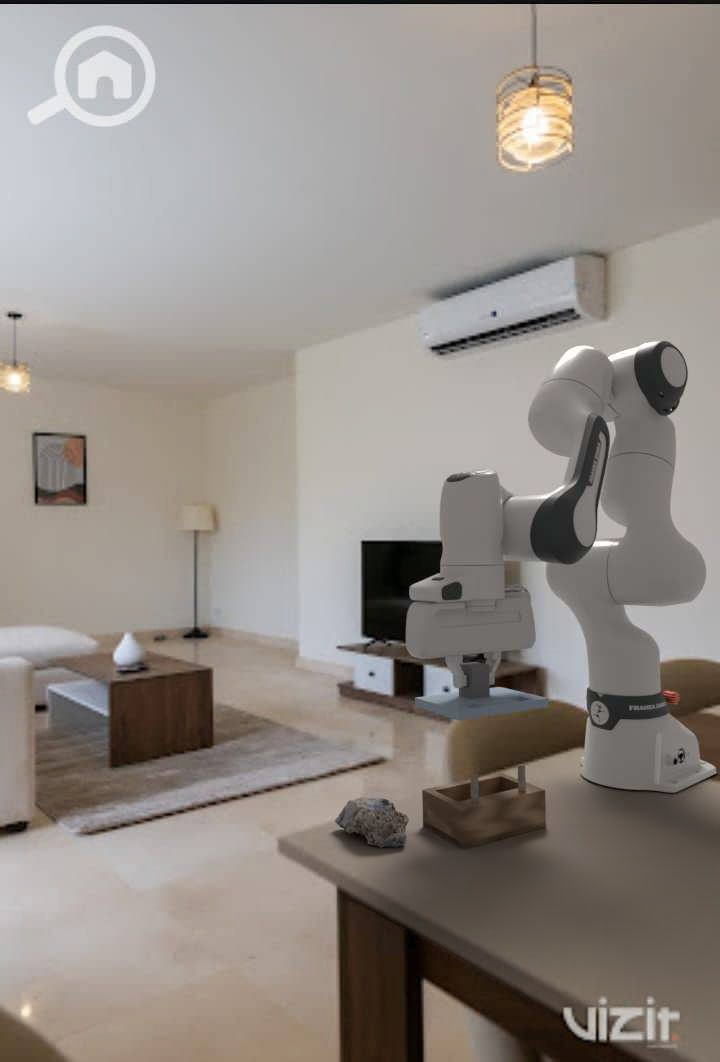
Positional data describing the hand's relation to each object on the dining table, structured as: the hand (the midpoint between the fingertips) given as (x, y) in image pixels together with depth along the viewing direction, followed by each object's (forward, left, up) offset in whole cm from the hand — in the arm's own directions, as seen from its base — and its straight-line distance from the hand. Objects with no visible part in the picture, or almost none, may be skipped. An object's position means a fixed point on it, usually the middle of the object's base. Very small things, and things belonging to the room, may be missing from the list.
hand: (473, 686), depth 103 cm
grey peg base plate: (0, +1, -3) cm, 3 cm away
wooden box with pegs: (0, +1, -19) cm, 19 cm away
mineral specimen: (+14, -4, -19) cm, 24 cm away
